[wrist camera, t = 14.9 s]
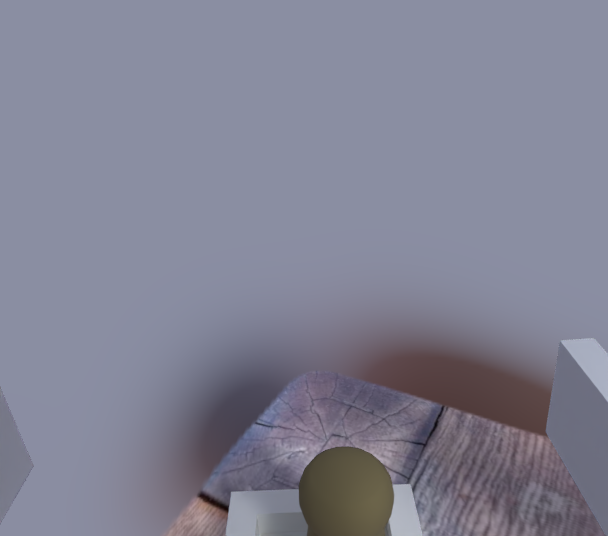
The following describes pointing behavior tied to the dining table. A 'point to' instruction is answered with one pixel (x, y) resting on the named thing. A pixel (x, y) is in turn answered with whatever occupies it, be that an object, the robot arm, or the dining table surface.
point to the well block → (289, 518)
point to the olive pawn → (346, 494)
